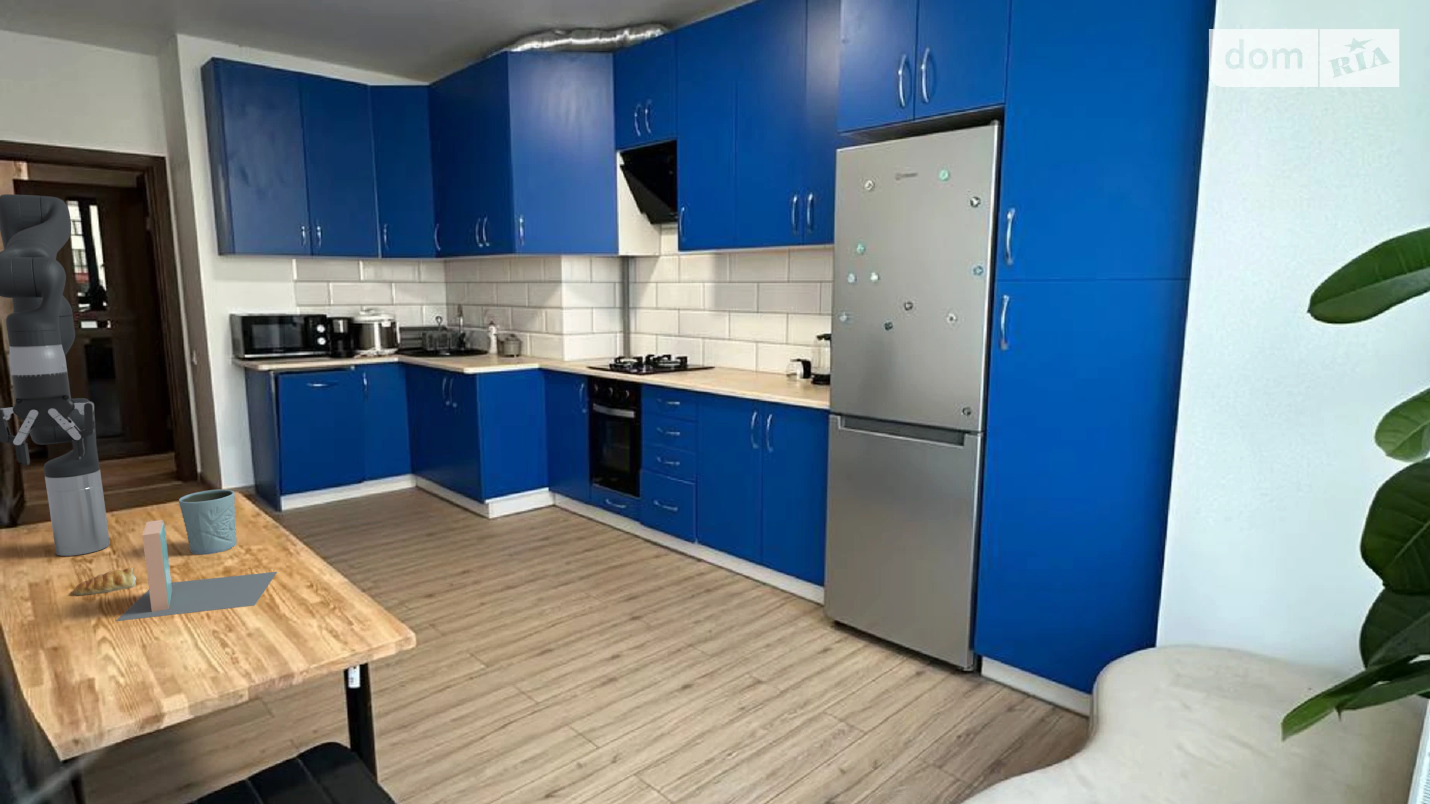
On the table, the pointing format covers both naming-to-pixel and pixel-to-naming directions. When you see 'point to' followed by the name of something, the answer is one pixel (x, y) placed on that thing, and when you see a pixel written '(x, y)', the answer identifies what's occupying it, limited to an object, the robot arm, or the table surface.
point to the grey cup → (209, 520)
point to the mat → (205, 595)
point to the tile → (157, 565)
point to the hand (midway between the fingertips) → (52, 461)
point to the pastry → (107, 582)
